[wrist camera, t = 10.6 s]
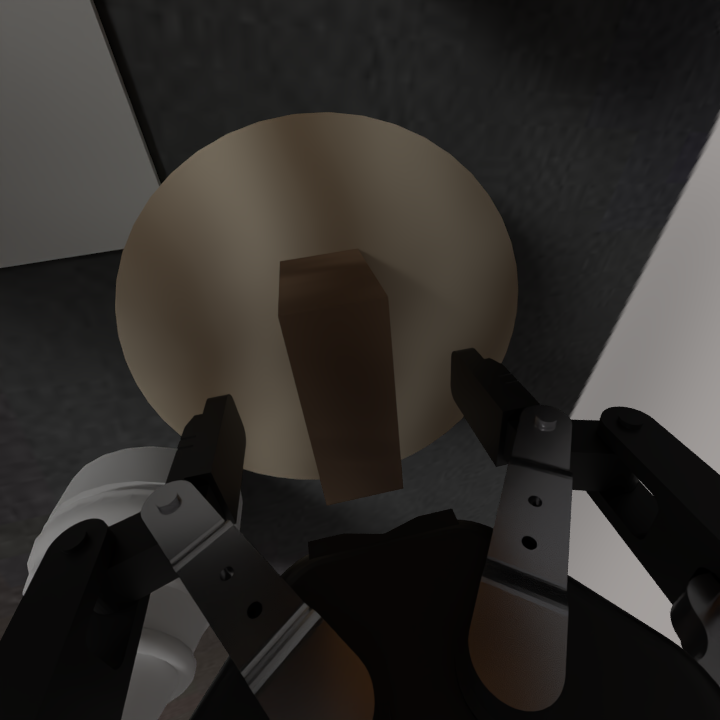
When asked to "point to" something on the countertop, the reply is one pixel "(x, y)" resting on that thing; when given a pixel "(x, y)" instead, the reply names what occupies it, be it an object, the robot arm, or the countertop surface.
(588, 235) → the countertop surface
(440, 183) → the lid
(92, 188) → the mat
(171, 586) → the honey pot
